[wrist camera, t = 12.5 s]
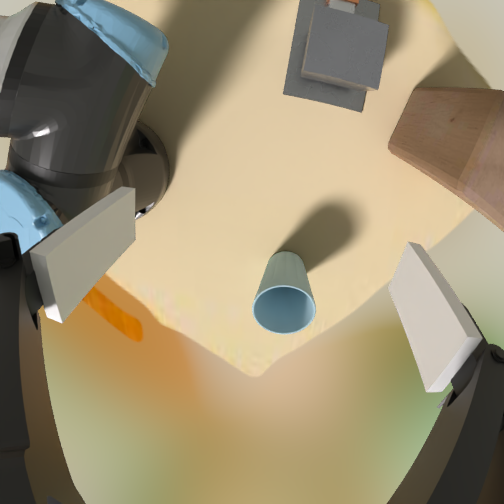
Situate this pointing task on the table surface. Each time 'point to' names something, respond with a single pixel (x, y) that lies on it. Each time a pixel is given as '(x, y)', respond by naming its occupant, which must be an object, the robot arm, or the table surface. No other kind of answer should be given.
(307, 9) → the lever
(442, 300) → the robot arm
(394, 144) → the wooden block
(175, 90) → the table surface
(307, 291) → the cup
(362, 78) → the grey metal cube
